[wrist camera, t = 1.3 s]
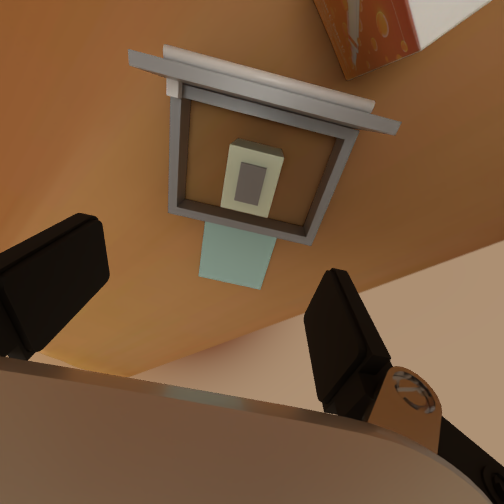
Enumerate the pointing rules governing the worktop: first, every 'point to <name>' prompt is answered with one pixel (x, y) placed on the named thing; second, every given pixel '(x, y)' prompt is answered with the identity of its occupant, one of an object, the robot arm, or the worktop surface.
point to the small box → (387, 28)
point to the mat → (235, 255)
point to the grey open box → (265, 93)
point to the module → (251, 177)
